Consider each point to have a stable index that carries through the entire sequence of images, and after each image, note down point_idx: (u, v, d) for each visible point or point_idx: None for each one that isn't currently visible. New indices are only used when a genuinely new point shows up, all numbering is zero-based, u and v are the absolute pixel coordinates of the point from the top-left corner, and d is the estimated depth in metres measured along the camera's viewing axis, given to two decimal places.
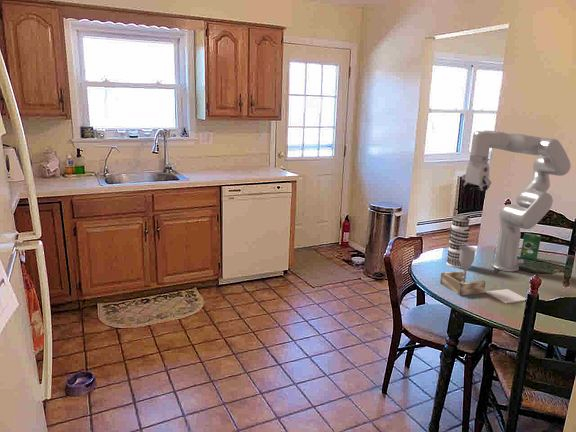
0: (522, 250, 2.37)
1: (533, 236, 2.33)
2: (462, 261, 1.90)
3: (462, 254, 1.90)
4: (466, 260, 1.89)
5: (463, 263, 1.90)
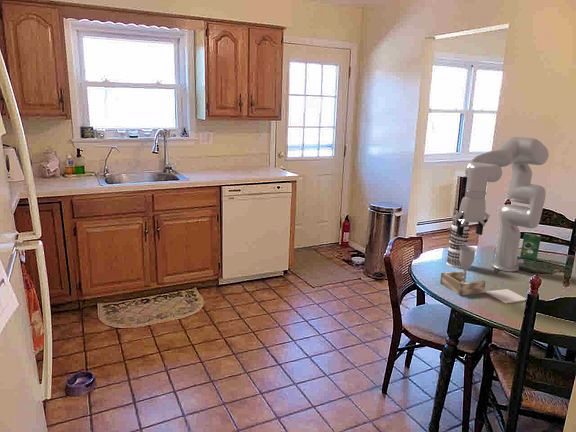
0: (522, 250, 2.37)
1: (533, 236, 2.33)
2: (462, 261, 1.90)
3: (462, 254, 1.90)
4: (466, 260, 1.89)
5: (463, 263, 1.90)
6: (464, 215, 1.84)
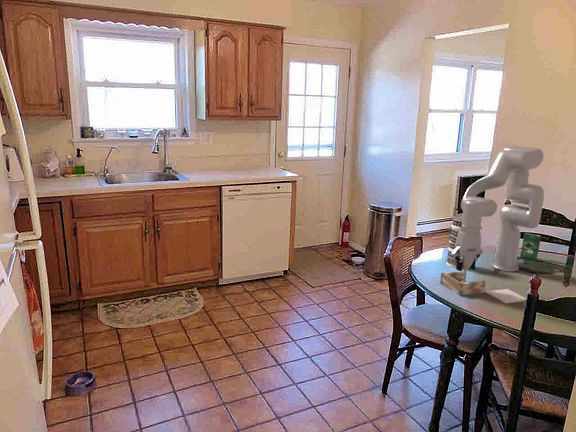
0: (522, 250, 2.37)
1: (533, 236, 2.33)
2: (462, 261, 1.90)
3: None
4: (466, 260, 1.89)
5: (463, 263, 1.90)
6: (460, 249, 1.88)
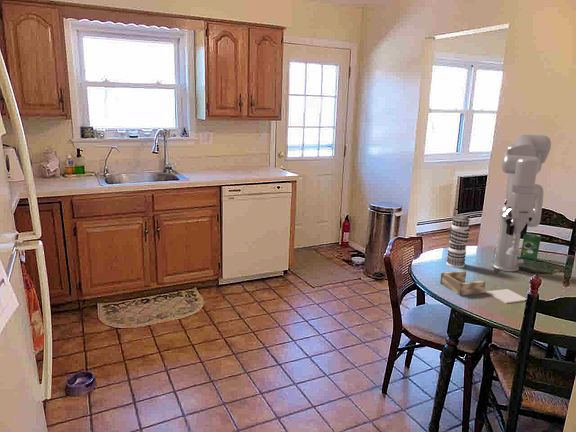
0: (522, 250, 2.37)
1: (533, 236, 2.33)
2: (513, 224, 1.78)
3: None
4: (518, 223, 1.77)
5: (514, 227, 1.78)
6: (512, 211, 1.75)
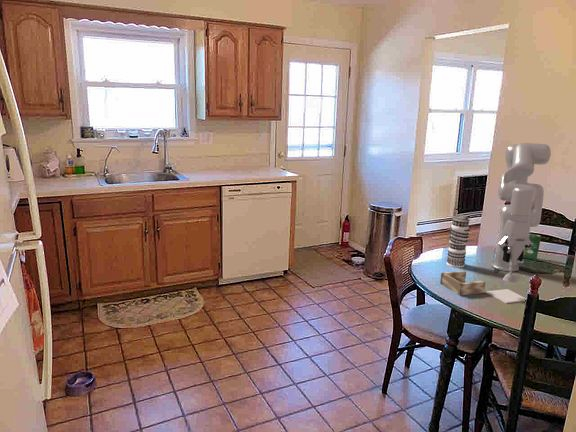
0: None
1: (533, 236, 2.33)
2: (510, 252, 1.80)
3: None
4: (514, 250, 1.79)
5: (511, 254, 1.80)
6: (508, 239, 1.78)
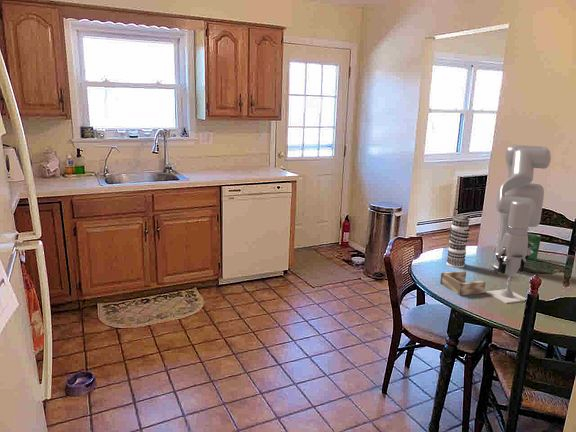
0: None
1: (533, 236, 2.33)
2: (508, 268, 1.82)
3: (508, 260, 1.81)
4: (512, 266, 1.81)
5: (509, 270, 1.82)
6: (506, 252, 1.79)
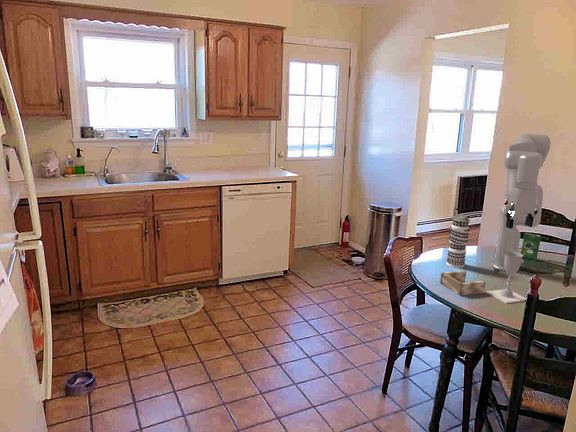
0: (522, 250, 2.37)
1: (533, 236, 2.33)
2: (507, 267, 1.82)
3: (508, 260, 1.82)
4: (512, 266, 1.81)
5: (509, 269, 1.82)
6: (514, 207, 1.77)
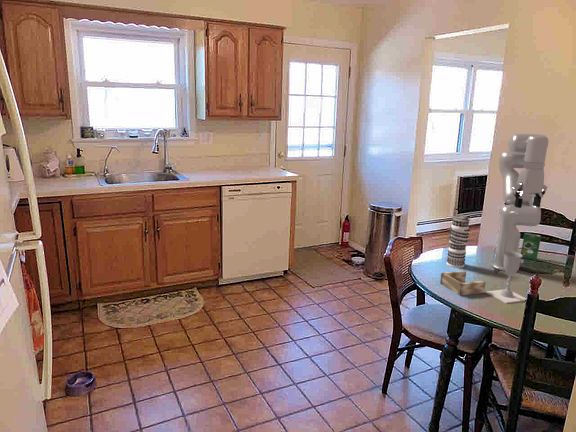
0: (522, 250, 2.37)
1: (533, 236, 2.33)
2: (507, 267, 1.82)
3: (507, 260, 1.82)
4: (511, 266, 1.81)
5: (508, 269, 1.82)
6: (523, 187, 1.83)
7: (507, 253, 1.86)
